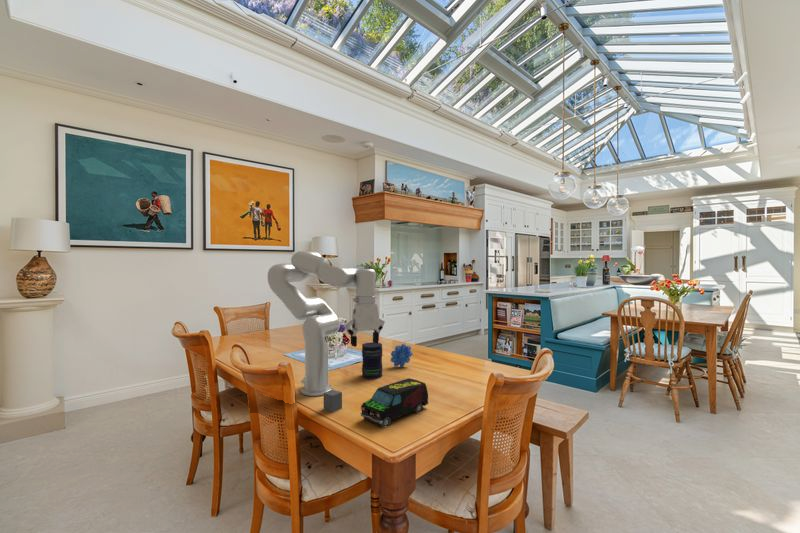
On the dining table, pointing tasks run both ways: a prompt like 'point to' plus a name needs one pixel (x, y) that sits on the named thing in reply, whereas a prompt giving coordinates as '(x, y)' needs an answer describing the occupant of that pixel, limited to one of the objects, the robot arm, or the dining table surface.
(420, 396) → the toy van
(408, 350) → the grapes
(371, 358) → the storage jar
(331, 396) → the grey block
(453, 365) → the dining table surface
